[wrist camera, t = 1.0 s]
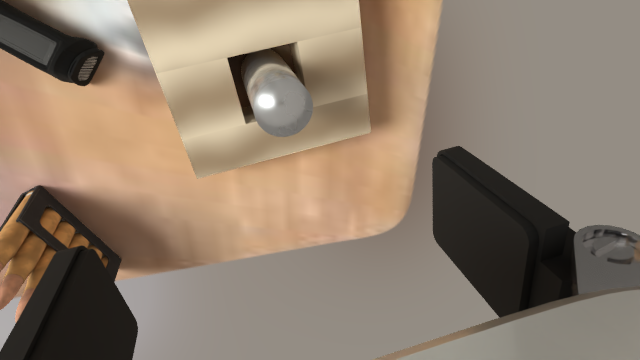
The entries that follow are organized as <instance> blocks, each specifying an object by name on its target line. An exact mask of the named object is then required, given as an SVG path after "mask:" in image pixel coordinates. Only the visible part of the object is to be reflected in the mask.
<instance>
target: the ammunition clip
mask: <svg viewBox="0 0 640 360" xmlns="http://www.w3.org/2000/svg"><path fill="white" fill-rule="evenodd" d="M81 245H82V246H85V247H86V248H87V249H94V250H95V251H96V252H97V254H98V256H99V257H100V259H101V261H102V262H103V264H104V266H105V268H106V269H107V271H108V273H109V274H110V276H111V278H112V280H113V281H115V278H116V275H117V272H118V269H119V266H120V263H121V258H120V257H119V256H118V255H116V254H115V253H114V252H113V251H112V250H111V249H110V248H109V247H108V246H107V245H105V244H104V243H103V242H102V241H101V240H100V239H99V238H98V237H97V236H96V235H94V234H93V233H92V232H91V231H90V230H89V229H88V228H87V227H86V226H85V225H83V224H82V223H81V222H80V221H79V220H78V219H77V218H76V217H75V216H74V215H72V214H71V213H70V212H69V211H68V210H67V209H66V208H65V207H64V206H63V205H62V204H60V203H59V202H58V201H57V200H56V199H55V198H54V197H53V196H52V195H51V194H49V193H48V192H47V191H46V190H45V189H44V188H43V187H42V186H36V187H34V188H32V189H30V190H29V191H27V192H25V193H23V194H21V196H20V197H19V199H18V200H17V202H16V204H15V205H14V207H13V208H12V210H11V212H10V213H9V215H8V216H7V218H6V220H5V221H4V223H3V224H2V226H1V227H0V272H1V270H2V269H3V268H4V267H5V265H6V264H7V263H8V262H9V261H10V260H11V261H10V263H9V266H8V270H7V272H6V274H5V276H4V278H3V281H2V282H1V284H0V310H1V309H2V308H4V307H5V306H6V305H7V304H8V303H9V302H10V301H11V300H12V299H13V298H14V296H15V295H16V294H17V292H18V291H19V289H20V287H21V285H22V284H23V283H24V281H25V280H26V278H27V277H28V276H29V277H28V280H27V285H26V288H25V290H24V292H23V295H22V297H21V299H20V302H19V304H18V307H17V311H16V318H15V320H16V322H17V321H18V319H19V317H20V315H21V313H22V312H23V310H24V308H25V306H26V304H27V303H28V301H29V299H30V297H31V295H32V294H33V292H34V290H35V288H36V286H37V285H38V283H39V281H40V279H41V278H42V276H43V274H44V272H45V270H46V269H47V267H48V265H49V263H50V261H51V260H52V258H53V256H54V254H55V253H56V252H58V251H62V250H65V249H69V248H73V247H77V246H81ZM29 274H30V275H29Z"/></svg>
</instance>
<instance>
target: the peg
mask: <svg viewBox="0 0 640 360" xmlns="http://www.w3.org/2000/svg"><path fill="white" fill-rule="evenodd" d="M241 76H242V80H243V83H244V86H245V89H246V92H247V95H248V98H249V100H250V103H251V106H252V109H253V112H254V115H255V118H256V121H257V123H258V124H259V126H260V127H261V128H262V129H263V130H264V131H265V132H267V133H268V134H270V135H273V136H277V137H287V136H291V135H294V134H296V133H298V132H300V131H301V130H302V129H304V128H305V126H306V125H307V124H308V122H309V121H310V119H311V116H312V113H313V101H312V98H311V95H310V93H309V92H308V90H307V89H306V88H305V87H304V85H303V84H302V83H301V82H300V80H299V79H298V78H297V76H296V75H295V74H294V73H293V71H292V70H291V69H290V68H289V66H288V65H287V64H286V63H285V61H284V60H283V59H282V58H281V56H280V55H279V54H278V53H276V52H275V51H273V50H270V49H263V50H259V51H254V52H250V53H249V54H248V55H247V56H246V57H245V59H244V60H243V62H242V65H241Z"/></svg>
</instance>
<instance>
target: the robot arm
mask: <svg viewBox="0 0 640 360" xmlns="http://www.w3.org/2000/svg"><path fill="white" fill-rule="evenodd" d="M432 165H433V166H432V168H433V234H434V238H435V240H436V242H437V243H438V245H439V246H440V247H441V248H442V249H443V251H444V252H445V253H446V254H447V255H448V257H450V259H451V260H452V261H453V263H454V264H455V265H456V266H457V267H458V268H459V270H460V271H461V272H462V273H463V274H464V275H465V277H466V278H467V279H468V280H469V281H470V283H471V284H472V285H473V286H474V288H475V289H476V290H477V291H478V292H479V293H480V295H481V296H482V297H483V298H484V299H485V301H486V302H487V303H488V304H489V305H490V307H491V308H492V309H493V310H494V311H495V313H496V314H497V315H498V316H499V317H500V318H498V319H494V320H491V321H488V322H485V323H482V324H479V325H476V326H473V327H470V328H467V329H464V330H461V331H458V332H455V333H452V334H449V335H446V336H443V337H439V338H437V339H433V340H430V341H427V342H424V343H421V344H418V345H415V346H412V347H409V348H406V349H403V350H400V351H397V352H394V353H391V354H388V355H385V356H382V357H379V358H376V359H373V360H640V235H638V234H636V233H634V232H631V231H629V230H626V229H623V228H619V227H615V226H609V225H593V226H587V227H584V228H582V229H580V230H579V231H578V232H577V233H576V232H575V231H573V230H572V229H570V228H569V221H567V220H566V219H565V218H563V217H562V216H560V215H559V214H557V213H556V212H554V211H553V210H552V209H550V208H549V207H547V206H546V205H544V204H543V203H542V202H540V201H539V200H537V199H536V198H534V197H533V196H531V195H530V194H529V193H527V192H526V191H524V190H523V189H521V188H520V187H518V186H517V185H516V184H514V183H513V182H511V181H510V180H508V179H507V178H505V177H504V176H503V175H501V174H500V173H498V172H497V171H495V170H494V169H492V168H491V167H490V166H488V165H486V164H485V163H484V162H482V161H481V160H479V159H478V158H477V157H475V156H474V155H472V154H471V153H469V152H468V151H466V150H465V149H463V148H462V147H460V146H456V147H452V148H449V149H445V150H441V151H439V152H438V154H437V157H434V159H433V163H432ZM137 332H138V326H137V322H136V319H135V317H134V316H133V314H132V312H131V310H130V309H129V307H128V305H127V304H126V302H125V300H124V299H123V297H122V295H121V293H120V292H119V290H118V288H117V286H116V285H115V283H114V281H113V280H112V278H111V276H110V274H109V273H108V271H107V269H106V268H105V266H104V264H103V262H102V261H101V259H100V257H99V256H98V254H97V252H96V251H95V250H94V249H87V248H86V247H85V246H82V245H81V246H77V247H73V248H69V249H65V250H62V251H58V252H56V253H55V254H54V256H53V258H52V260H51V261H50V263H49V265H48V267H47V269H46V270H45V272H44V274H43V276H42V278H41V279H40V281H39V283H38V285H37V286H36V288H35V290H34V292H33V294H32V295H31V297H30V299H29V301H28V303H27V304H26V306H25V308H24V310H23V312H22V313H21V315H20V317H19V319H18V321H17V322H16V324H15V326H14V328H13V330H12V331H11V333H10V335H9V337H8V339H7V340H6V342H5V344H4V346H3V348H2V349H1V351H0V360H132V358H133V353H134V348H135V343H136V338H137Z"/></svg>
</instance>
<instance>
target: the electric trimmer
mask: <svg viewBox="0 0 640 360" xmlns="http://www.w3.org/2000/svg"><path fill="white" fill-rule="evenodd" d="M0 48H1V49H3V50H5V51H6V52H8V53H10V54H12V55H14V56H16V57H17V58H19V59H21V60H23V61H25V62H27V63H29V64H30V65H32V66H34V67H36V68H38V69H40V70H42V71H44V72H46V73H48V74H50V75H52V76H53V77H55V78H57V79H59V80H61V81H64V82H69V83H75V84H77V85H80V86H86V85H88V84H89V83H90V81H91V79H92V77H93V75H94V74H95V72H96V70H97V68H98V66H99V64H100V62H101V60H102V58H103V56H104V52H103V51H102V50H100V49H98V48H97V45H96V44H95V43H93V42H91V41H89V40H87V39H84V38H77V37H71V36H69V35H66V34H64V33H62V32H60V31H58V30H56V29H54V28H52V27H50V26H48V25H46V24H44V23H42V22H40V21H38V20H36V19H35V18H33V17H31V16H29V15H27V14H25V13H23V12H21V11H19V10H18V9H16V8H14V7H12V6H10V5H9V4H7V3H5V2H4V1H2V0H0Z"/></svg>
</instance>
